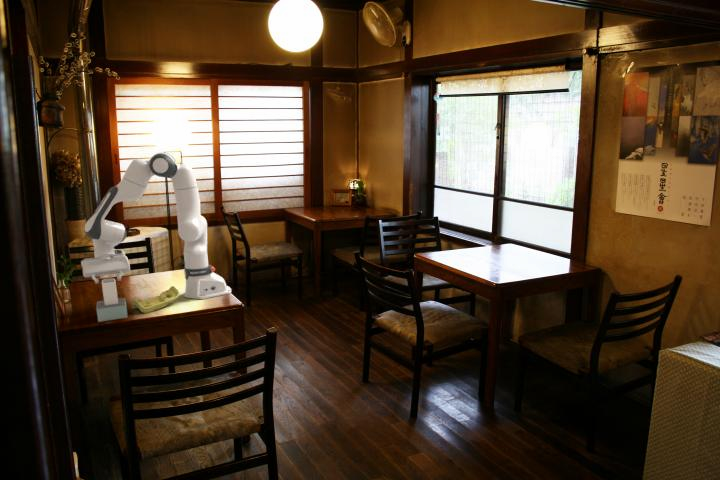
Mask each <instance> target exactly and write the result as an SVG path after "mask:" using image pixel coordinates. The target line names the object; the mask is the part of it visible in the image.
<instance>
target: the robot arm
mask: <svg viewBox="0 0 720 480" xmlns="http://www.w3.org/2000/svg"><path fill="white" fill-rule="evenodd" d="M153 176H157V177H160V178H167V179H170V180H171V183H172V187H173V188H172V189H173V192H174V198H175V203H176V216H177V233H178V235H179V238H180V239H181V240H183V241H184V245H183V259H184V260H183V261H184V269H183V272H184V278H185V291H184V297H185V298H188V299H198V300H206V299H210V298H214V297H215V298H216V297H219V296H224V295H229V294H231V293H232V288H231V287H230V286H228V285H227V283H226V281H225V279H224V278H223V277H222V276H221V275H219V274H218V273H215V271H216V268H215V267H214V266H213V265H212V264H209V257H208V222H207V219H206V218H205V216H203V215H202V214H201V198H200V191H199V187H198V182H197V178H196V175H195V172H194V169H193V168H192V166H190V165H188V164H183V163H182V164H178V163H177V162H176V159H175V158H174V157H173V155H171V154H170V153H167V152H158V153H155V154H154V155H153V156H151V158H150V159H148V160H146V159H143V158H134V159H132V161H131V162H130V164H129V165H128V167H127V169H126V170H125V172H124V174H123V176H122V179H121V180H120V181H119V183H118V184H116V185H115V186H112V187H110V188H109V189H108V191H107V192H106V194H105V195H104V196H103V198H102V200H101V201H100V203H99V204H98V206H97V207H96V209H95V210H94V212H93V214H92V215H91V216H90V217H89V218H88V220H87V221H86V222H85V225H84V226H83V227H84V228H83V230H84V233H85V235H86V236H87V238H89V240H90V239H91V240H92V245H93V248H94V250H93V253H94V257H90V258H83V259H82V260H81V261H80V264H81V267H82V275H83V277H84V278H92V280H93V281H94V283H95V285H96V284H99V283H100V282H99V280H100V279H99V278H97V277H100V276H108V275H114V274H118V275H117V276H116V277H117V278H116V279H117V281H119V282H121V281H122V276H123V274H124V273H129V272H130V271H131V264H130V261H129V259H128V256H126V252H125V250H123V249H116V248H115V247H117V246H118V245H120V244H121V243H122V242H124V241H125V240H126V238H127V229H126V226H125V225H124V224H123V223H120V222H115V221H112V220H108V219H105V218H106V216H107V215H108V214H109V212H110V211H111V209H112V207H114V205H115V204H117V203H120V202H129V201H135V200H138V199H140V198H141V197H143V195H144V193H145V191H146V190H147V187H148V184H149V183H150V180H151V178H152V177H153Z"/></svg>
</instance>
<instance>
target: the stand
mask: <svg viewBox="0 0 720 480" xmlns="http://www.w3.org/2000/svg"><path fill="white" fill-rule="evenodd" d="M127 308H128V307H127V301H126V298H125V297H120V298H119V297H118V304H112V305H105V303H104V300H99V301H96V315H97V322H98V323H100V322H101V323H102V322H107V321H113V320H119V319H127V318H129V317H128V309H127Z"/></svg>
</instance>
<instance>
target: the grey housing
mask: <svg viewBox="0 0 720 480" xmlns="http://www.w3.org/2000/svg"><path fill="white" fill-rule="evenodd" d="M101 287H102V295H103V301H104V303H105V305H112V304H118V298H119V297H118V290H117V282H116V279H115V278H114V277H111V278H104V279H103V278H102V280H101Z"/></svg>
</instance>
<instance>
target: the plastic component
mask: <svg viewBox="0 0 720 480" xmlns="http://www.w3.org/2000/svg"><path fill="white" fill-rule="evenodd" d="M179 296H180V292H179V290H178V289H177V288H176V287H175V286H173V285H172V286H170V288H169V289H166V290H165V291H162V292H161V293H160V294H159V295H156V296H154V297H151V298H149V299H145V300H142V301H138V299H137V298H133V300H132V308H133V309H135V310H137V309H138V310H139V311H140V312H141V313H143V314H147V313H151V312H154V311H156V310H160V309H162V308H164V307H167V306H168V305H170V304H172V302H175V300H177V299H178V297H179Z"/></svg>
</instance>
